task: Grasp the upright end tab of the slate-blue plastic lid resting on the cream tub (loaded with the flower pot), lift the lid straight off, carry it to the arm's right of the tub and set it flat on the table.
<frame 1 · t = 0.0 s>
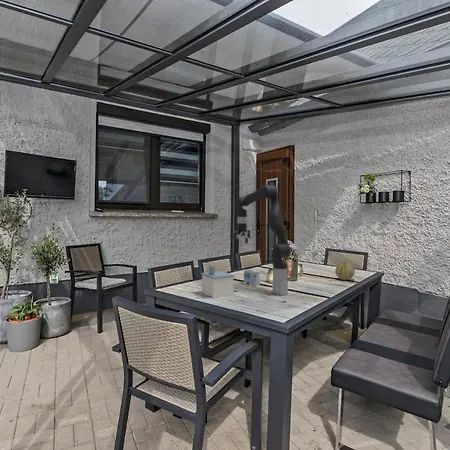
hand: (241, 243, 262), 29 cm above the table, fingers open, 8 cm apart
lid: (217, 275, 221), point 12 cm above the table, touching tub
cantaloupe: (344, 280, 273), on the table
light bulb box: (251, 284, 251), on the table
tub: (217, 293, 221), on the table
flower pot: (217, 294, 221), resting in tub
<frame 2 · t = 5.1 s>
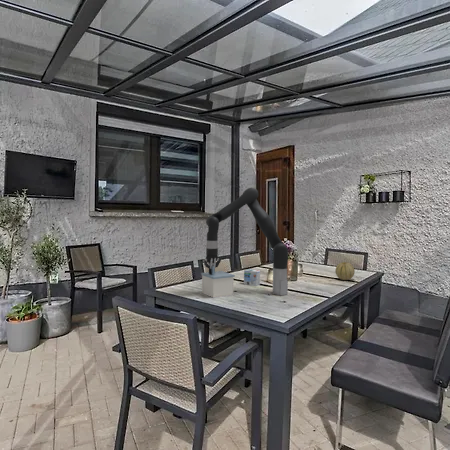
hand: (211, 274, 218), 14 cm above the table, fingers closed on lid
lid: (217, 275, 221), point 12 cm above the table, touching gripper, tub
everything else where it was.
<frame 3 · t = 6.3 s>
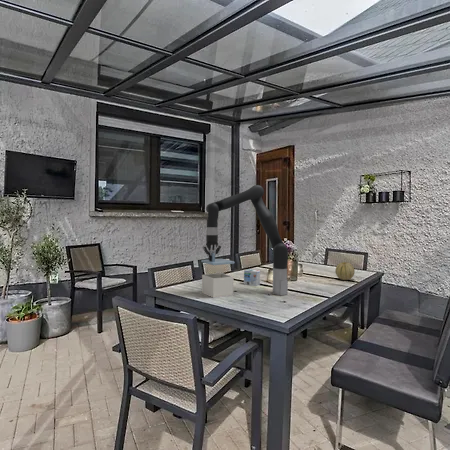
hand: (211, 260, 218), 22 cm above the table, fingers closed on lid
lid: (217, 262, 220), point 21 cm above the table, touching gripper
everything else where it was.
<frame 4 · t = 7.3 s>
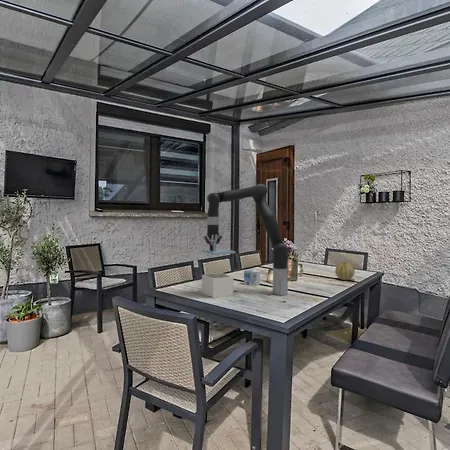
hand: (212, 250, 218), 29 cm above the table, fingers closed on lid
lid: (218, 252, 220), point 27 cm above the table, touching gripper
everything else where it was.
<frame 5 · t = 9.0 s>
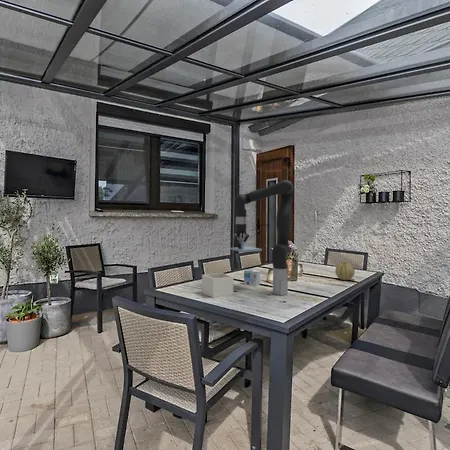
hand: (240, 248, 233), 29 cm above the table, fingers closed on lid
lid: (245, 250, 236), point 27 cm above the table, touching gripper
everything else where it was.
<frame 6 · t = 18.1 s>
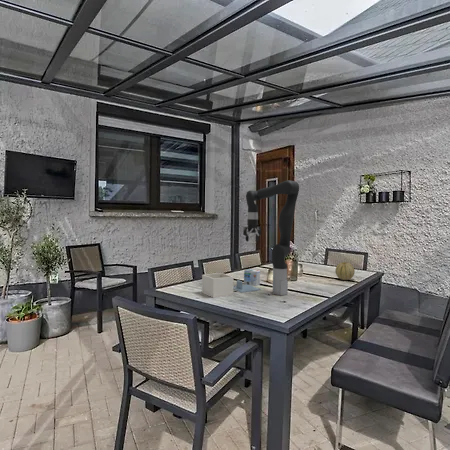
hand: (252, 241, 242), 33 cm above the table, fingers open, 8 cm apart
lid: (244, 289, 237), on the table
everything else where it was.
at the end: lid inside the target area (3.1 cm from its centre), on the table; lid touching table; the gripper is holding nothing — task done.
